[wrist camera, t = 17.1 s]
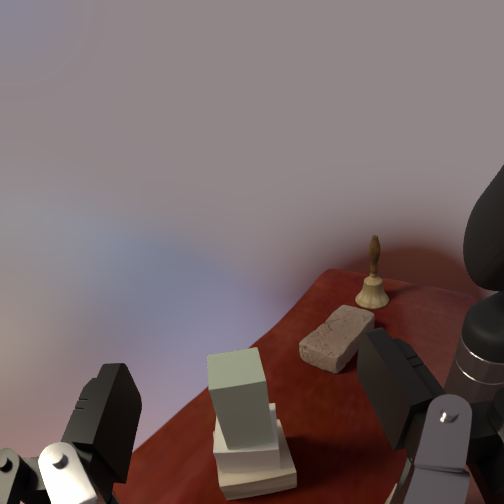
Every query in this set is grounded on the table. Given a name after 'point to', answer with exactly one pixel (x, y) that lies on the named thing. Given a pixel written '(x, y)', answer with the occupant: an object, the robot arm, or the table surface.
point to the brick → (336, 338)
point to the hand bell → (373, 282)
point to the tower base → (261, 476)
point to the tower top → (248, 452)
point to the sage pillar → (240, 398)
